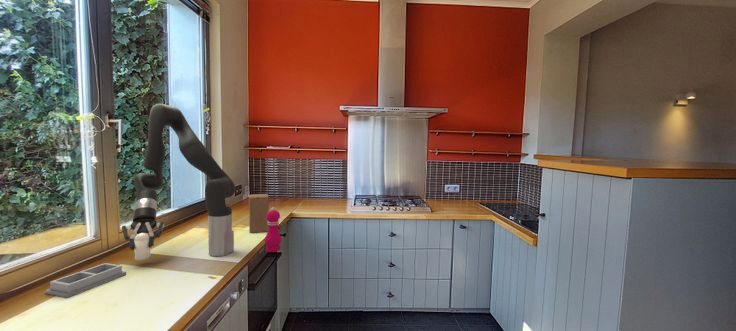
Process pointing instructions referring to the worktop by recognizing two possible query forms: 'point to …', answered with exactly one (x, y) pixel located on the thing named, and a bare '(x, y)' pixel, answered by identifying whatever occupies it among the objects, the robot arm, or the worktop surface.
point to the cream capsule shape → (141, 246)
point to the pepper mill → (273, 231)
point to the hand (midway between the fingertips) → (141, 247)
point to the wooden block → (258, 213)
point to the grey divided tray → (84, 280)
